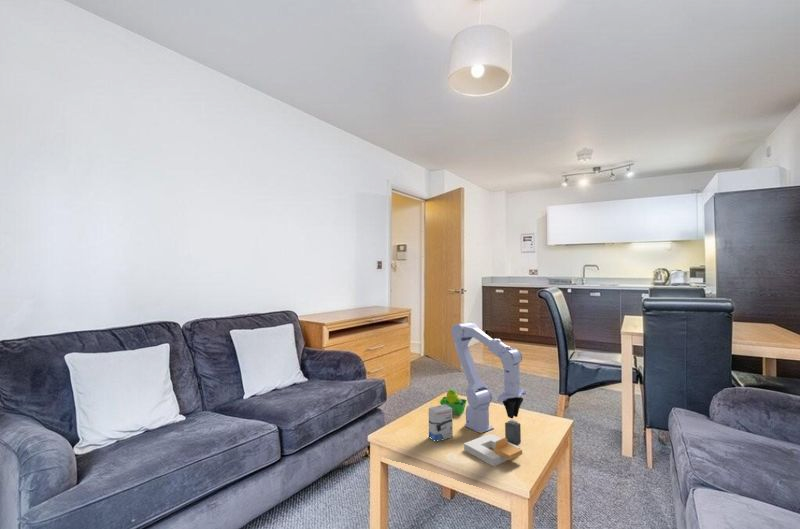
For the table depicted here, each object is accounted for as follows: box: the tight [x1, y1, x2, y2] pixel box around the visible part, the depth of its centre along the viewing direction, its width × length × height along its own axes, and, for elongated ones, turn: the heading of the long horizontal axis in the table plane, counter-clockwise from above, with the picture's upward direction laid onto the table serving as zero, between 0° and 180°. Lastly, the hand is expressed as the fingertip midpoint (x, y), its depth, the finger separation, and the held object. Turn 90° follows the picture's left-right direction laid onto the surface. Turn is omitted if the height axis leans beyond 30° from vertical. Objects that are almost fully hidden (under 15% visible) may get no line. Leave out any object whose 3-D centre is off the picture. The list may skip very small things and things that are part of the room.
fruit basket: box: [439, 388, 468, 415], centre depth 174 cm, size 11×9×11 cm
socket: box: [463, 433, 521, 467], centre depth 134 cm, size 14×14×2 cm
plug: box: [504, 419, 522, 445], centre depth 143 cm, size 4×4×8 cm
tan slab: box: [493, 437, 523, 461], centre depth 128 cm, size 7×7×4 cm
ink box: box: [428, 404, 454, 442], centre depth 147 cm, size 8×5×12 cm, turn 117°
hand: (512, 416), depth 143 cm, fingers closed
